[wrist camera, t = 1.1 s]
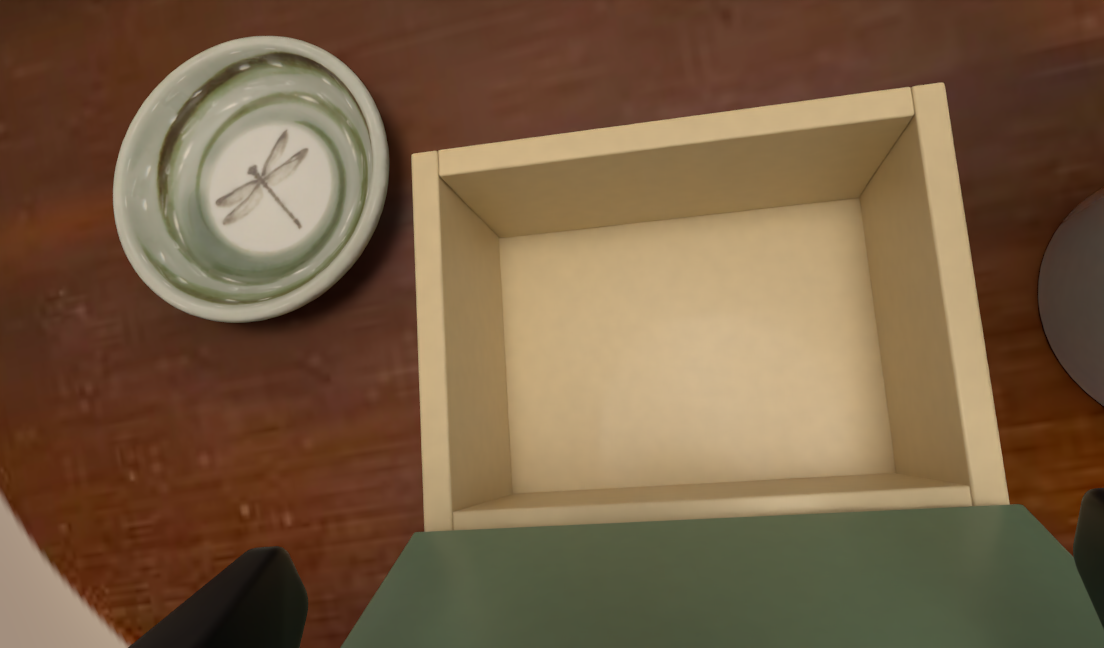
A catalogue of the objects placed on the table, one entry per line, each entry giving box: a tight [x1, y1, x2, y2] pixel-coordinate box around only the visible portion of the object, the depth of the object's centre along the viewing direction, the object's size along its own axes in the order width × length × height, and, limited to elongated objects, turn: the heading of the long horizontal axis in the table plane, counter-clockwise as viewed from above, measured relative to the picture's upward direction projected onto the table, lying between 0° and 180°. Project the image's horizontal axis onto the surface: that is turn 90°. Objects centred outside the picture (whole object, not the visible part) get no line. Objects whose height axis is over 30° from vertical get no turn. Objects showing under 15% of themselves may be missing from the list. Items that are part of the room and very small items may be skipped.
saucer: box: [113, 36, 389, 323], centre depth 26 cm, size 10×10×2 cm
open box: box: [411, 83, 1010, 532], centre depth 20 cm, size 9×12×7 cm
